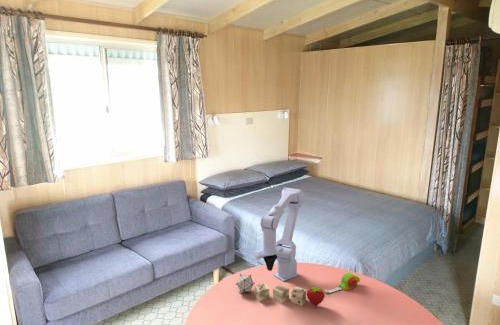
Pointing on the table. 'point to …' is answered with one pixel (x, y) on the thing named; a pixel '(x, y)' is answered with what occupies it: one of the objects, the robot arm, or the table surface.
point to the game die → (245, 283)
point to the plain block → (281, 293)
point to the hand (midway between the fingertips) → (269, 269)
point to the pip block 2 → (298, 296)
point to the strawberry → (315, 296)
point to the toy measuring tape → (346, 283)
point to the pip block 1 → (262, 292)
